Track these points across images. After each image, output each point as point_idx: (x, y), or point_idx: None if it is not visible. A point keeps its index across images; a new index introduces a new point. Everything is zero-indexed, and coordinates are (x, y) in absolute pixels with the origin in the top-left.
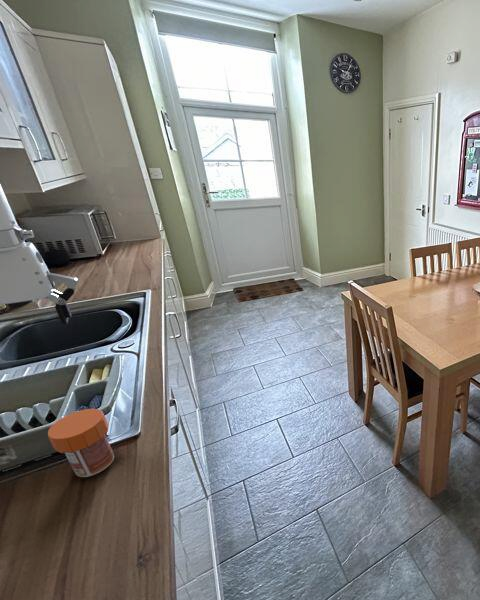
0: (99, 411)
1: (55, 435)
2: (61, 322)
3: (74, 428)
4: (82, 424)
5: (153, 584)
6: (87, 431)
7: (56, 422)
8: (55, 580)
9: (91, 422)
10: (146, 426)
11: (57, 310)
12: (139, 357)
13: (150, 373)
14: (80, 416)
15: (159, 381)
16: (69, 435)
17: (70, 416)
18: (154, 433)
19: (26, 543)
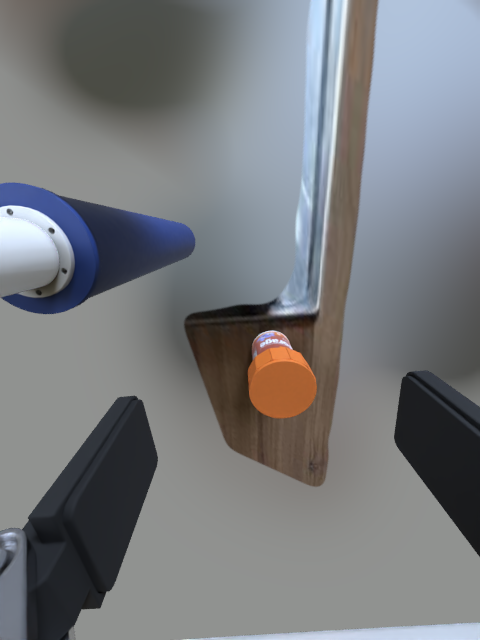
0: (311, 377)
1: (260, 406)
2: (400, 449)
3: (282, 402)
4: (291, 399)
5: (318, 484)
6: (298, 413)
7: (255, 376)
8: (256, 454)
9: (302, 399)
10: (326, 301)
11: (468, 533)
12: None
13: (347, 109)
14: (286, 378)
15: (359, 162)
16: (277, 414)
17: (272, 370)
18: (334, 322)
19: (228, 414)
